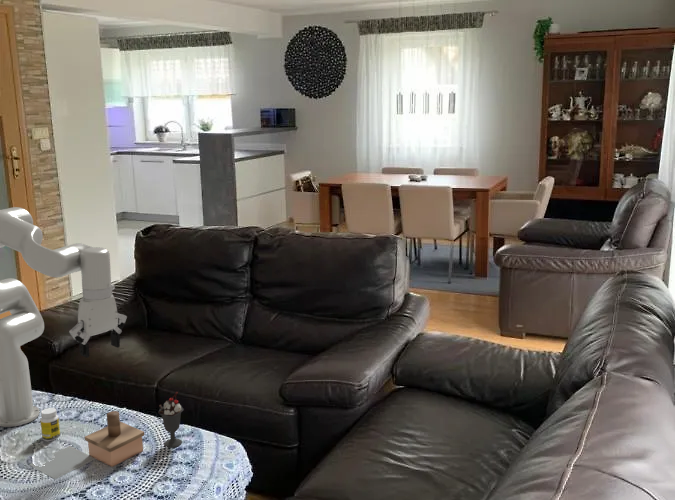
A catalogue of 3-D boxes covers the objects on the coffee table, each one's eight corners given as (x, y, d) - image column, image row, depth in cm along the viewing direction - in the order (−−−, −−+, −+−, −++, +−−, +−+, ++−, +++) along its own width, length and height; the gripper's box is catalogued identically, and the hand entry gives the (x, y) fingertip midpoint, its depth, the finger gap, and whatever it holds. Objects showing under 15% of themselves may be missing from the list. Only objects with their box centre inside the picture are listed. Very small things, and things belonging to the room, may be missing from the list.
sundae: (190, 440, 191) (187, 391, 187) (175, 451, 185) (171, 400, 181) (171, 435, 193) (168, 387, 190) (156, 446, 187) (152, 396, 184)
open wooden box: (89, 456, 182) (87, 439, 181) (120, 441, 190) (118, 425, 189) (112, 468, 176) (110, 450, 175) (143, 452, 184) (141, 435, 183)
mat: (29, 465, 178) (28, 464, 178) (69, 447, 187) (69, 445, 187) (55, 480, 171) (54, 479, 171) (96, 460, 180) (95, 458, 180)
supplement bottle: (53, 442, 190) (50, 415, 188) (38, 441, 191) (35, 413, 189) (63, 434, 194) (61, 407, 192) (49, 433, 195) (46, 406, 193)
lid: (84, 440, 181) (82, 416, 179) (119, 424, 190) (117, 401, 188) (110, 452, 175) (108, 427, 173) (144, 435, 183) (142, 411, 182)
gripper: (116, 283, 193) (119, 339, 197) (60, 297, 180) (64, 356, 184) (132, 288, 189) (134, 345, 193) (76, 302, 176) (80, 364, 180)
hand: (100, 351), depth 189 cm, fingers open, 9 cm apart
